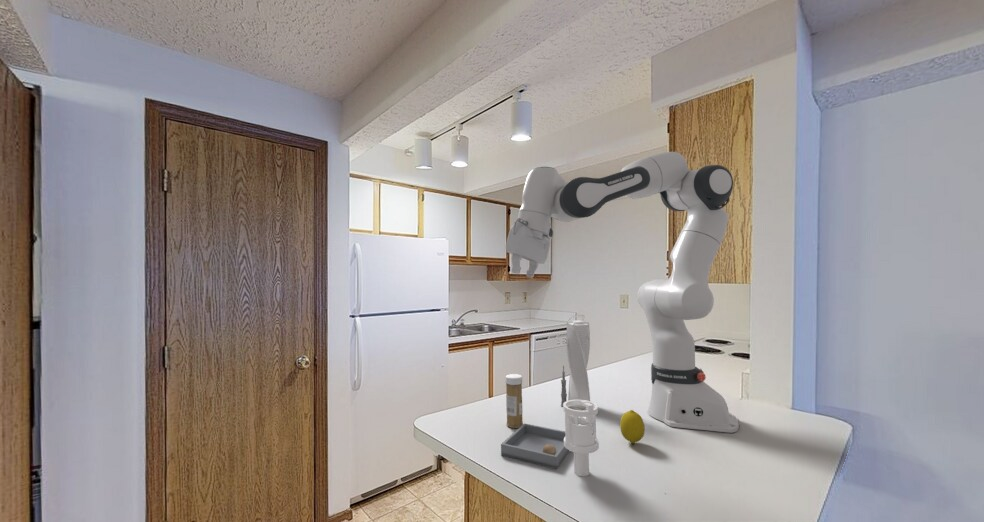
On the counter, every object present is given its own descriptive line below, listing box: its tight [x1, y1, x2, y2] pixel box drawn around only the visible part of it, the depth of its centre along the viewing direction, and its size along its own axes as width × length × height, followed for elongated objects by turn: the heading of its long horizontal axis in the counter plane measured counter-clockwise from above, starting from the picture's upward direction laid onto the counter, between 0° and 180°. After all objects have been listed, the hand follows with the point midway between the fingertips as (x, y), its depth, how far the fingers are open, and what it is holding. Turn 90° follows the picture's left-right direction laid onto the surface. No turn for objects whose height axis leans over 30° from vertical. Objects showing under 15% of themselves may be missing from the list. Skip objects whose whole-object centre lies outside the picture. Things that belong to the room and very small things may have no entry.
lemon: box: [619, 409, 645, 445], centre depth 92 cm, size 6×6×8 cm
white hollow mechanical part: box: [562, 400, 600, 477], centre depth 79 cm, size 7×7×15 cm
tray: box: [500, 423, 571, 470], centre depth 90 cm, size 13×13×2 cm
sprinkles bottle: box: [505, 373, 524, 429], centre depth 104 cm, size 5×5×14 cm
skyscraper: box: [560, 314, 591, 411], centre depth 119 cm, size 8×8×28 cm
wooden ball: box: [543, 444, 556, 455], centre depth 84 cm, size 3×3×3 cm
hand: (522, 275), depth 103 cm, fingers open, 8 cm apart
